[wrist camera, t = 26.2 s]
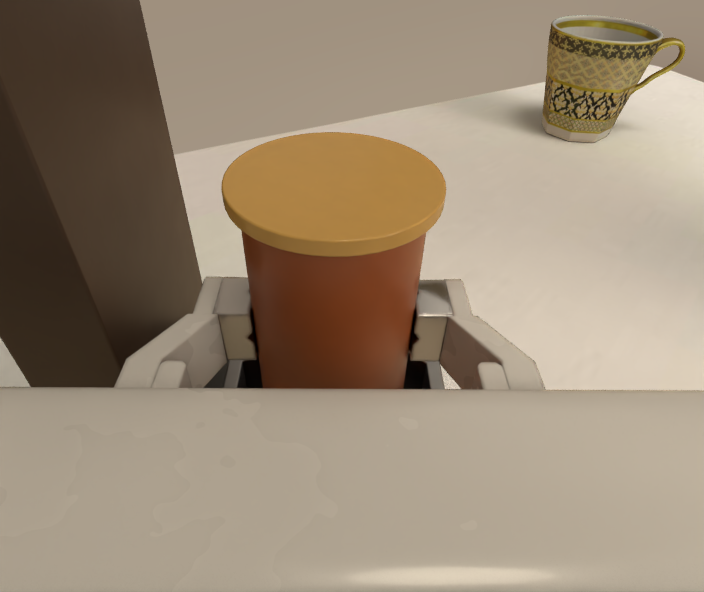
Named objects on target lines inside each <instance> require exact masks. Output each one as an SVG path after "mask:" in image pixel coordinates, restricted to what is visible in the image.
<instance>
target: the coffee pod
mask: <svg viewBox="0 0 704 592" xmlns="http://www.w3.org/2000/svg"><path fill="white" fill-rule="evenodd" d="M445 195H446V184H445V180H444V178H443V175H442V173H441V172H440V170H439V169H438V167H437V166H436V165H435V164H434V163H433V162H432V161H430V160H429V159H428V158H427V157H425V156H424V155H422V154H421V153H419V152H417V151H415V150H413V149H411V148H409V147H407V146H405V145H402V144H399V143H397V142H393V141H390V140H387V139H383V138H379V137H374V136H368V135H362V134H354V133H339V132H324V133H309V134H300V135H294V136H288V137H284V138H280V139H276V140H273V141H270V142H267V143H264V144H261V145H259V146H257V147H255V148H253V149H251V150H249V151H247V152H245V153H244V154H242V155H241V156H239V157H238V158H237V159H236V160H235V161H233V163H232V164H231V165H230V166H229V167H228V169H227V170H226V172H225V174H224V177H223V180H222V196H223V202H224V206H225V210H226V212H227V214H228V216H229V217H230V219H231V220H232V221H233V222H234V224H235V225H236V226H237V227H238V228H240V229H241V231H242V238H243V245H244V253H245V260H246V267H247V275H248V282H249V289H250V297H251V304H252V311H253V318H254V326H255V333H256V340H257V347H258V355H259V362H260V369H261V377H262V384H263V388H279V389H403V387H404V380H405V373H406V366H407V360H408V353H409V346H410V339H411V332H412V326H413V318H414V311H415V305H416V298H417V292H418V285H419V278H420V271H421V264H422V257H423V251H424V244H425V237H426V232H427V231H428V230H429V229H430V228H431V227H432V226H433V225H434V224H435V223H436V222H437V220H438V219H439V217H440V216H441V213H442V211H443V207H444V201H445Z"/></svg>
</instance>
